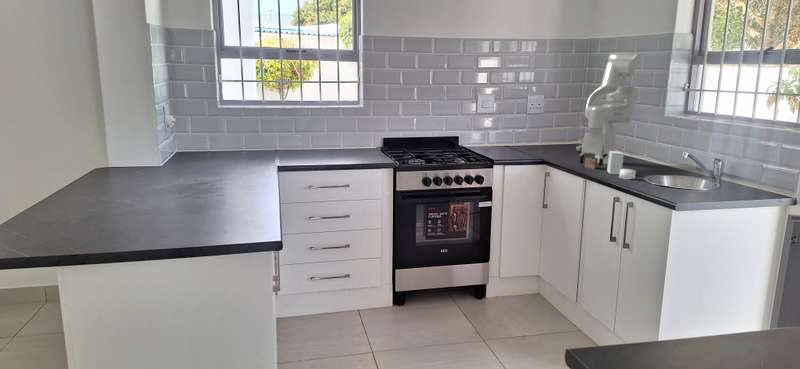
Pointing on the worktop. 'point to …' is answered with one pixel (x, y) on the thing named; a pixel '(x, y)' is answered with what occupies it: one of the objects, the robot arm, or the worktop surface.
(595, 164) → the walnut cube
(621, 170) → the white small lump
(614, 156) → the small box
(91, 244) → the worktop surface
